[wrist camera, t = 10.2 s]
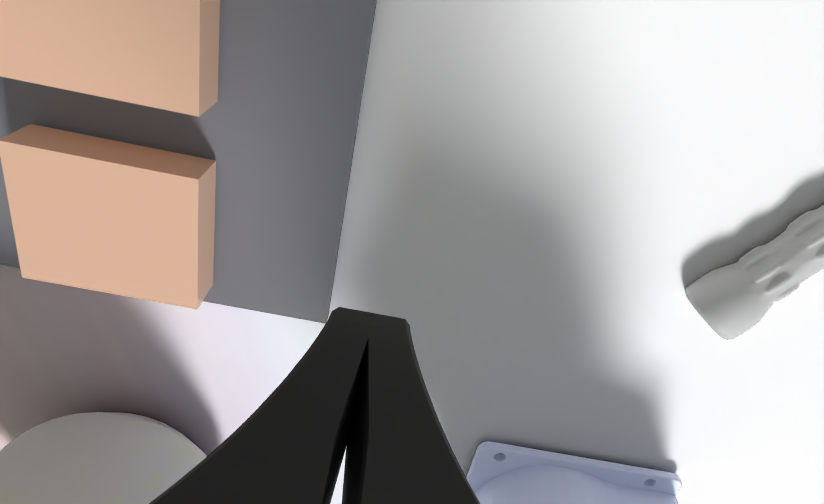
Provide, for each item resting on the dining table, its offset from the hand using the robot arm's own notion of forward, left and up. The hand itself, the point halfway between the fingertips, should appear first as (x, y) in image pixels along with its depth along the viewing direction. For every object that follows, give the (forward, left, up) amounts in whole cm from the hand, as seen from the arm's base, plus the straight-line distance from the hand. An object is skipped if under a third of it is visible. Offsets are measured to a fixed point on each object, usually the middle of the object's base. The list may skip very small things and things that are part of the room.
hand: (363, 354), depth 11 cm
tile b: (+6, -4, -8) cm, 11 cm away
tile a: (+6, +4, -8) cm, 11 cm away
